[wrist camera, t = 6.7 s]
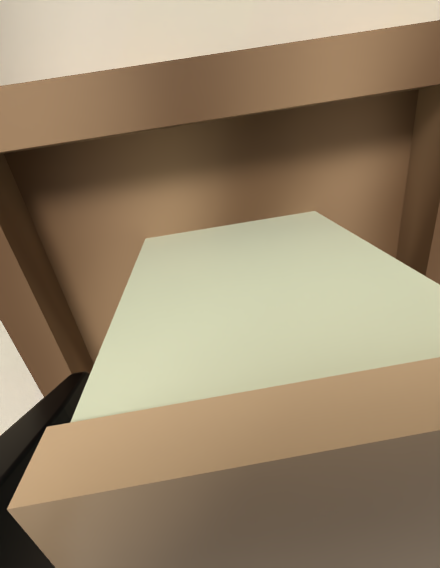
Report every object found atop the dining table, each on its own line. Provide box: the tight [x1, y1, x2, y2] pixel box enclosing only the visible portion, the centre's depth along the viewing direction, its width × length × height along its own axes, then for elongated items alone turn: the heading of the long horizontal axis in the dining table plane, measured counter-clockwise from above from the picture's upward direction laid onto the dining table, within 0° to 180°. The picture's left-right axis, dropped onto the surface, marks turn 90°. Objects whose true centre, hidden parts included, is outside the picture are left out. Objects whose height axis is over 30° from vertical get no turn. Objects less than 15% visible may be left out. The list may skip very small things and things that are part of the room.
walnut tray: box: [0, 20, 440, 397], centre depth 10 cm, size 14×14×2 cm
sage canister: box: [7, 211, 440, 568], centre depth 7 cm, size 6×6×8 cm
